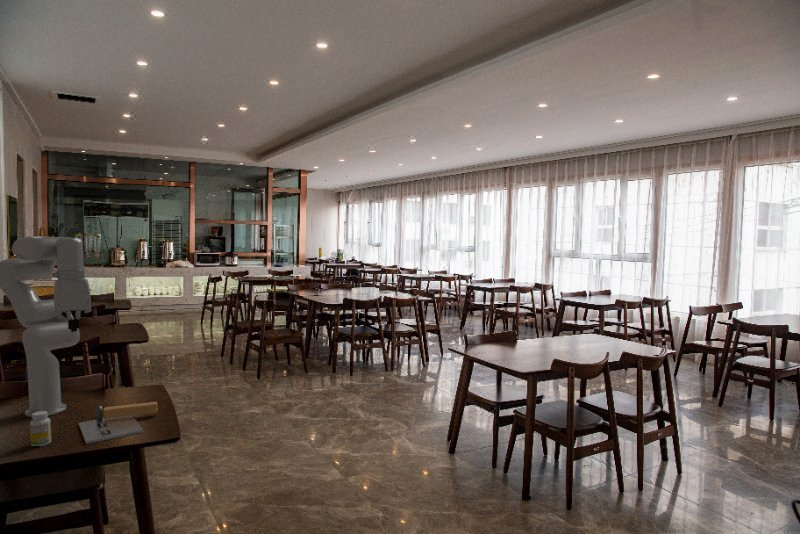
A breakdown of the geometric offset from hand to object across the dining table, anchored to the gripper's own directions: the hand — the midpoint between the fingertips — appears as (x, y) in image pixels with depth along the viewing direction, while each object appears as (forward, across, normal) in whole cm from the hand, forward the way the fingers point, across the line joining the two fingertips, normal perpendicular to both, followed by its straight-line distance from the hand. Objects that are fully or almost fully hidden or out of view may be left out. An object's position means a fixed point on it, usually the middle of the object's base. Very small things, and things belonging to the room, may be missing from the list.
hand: (74, 331), depth 179 cm
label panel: (+32, +8, -9) cm, 34 cm away
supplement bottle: (+32, -11, -10) cm, 36 cm away
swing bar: (+31, +15, -3) cm, 34 cm away
